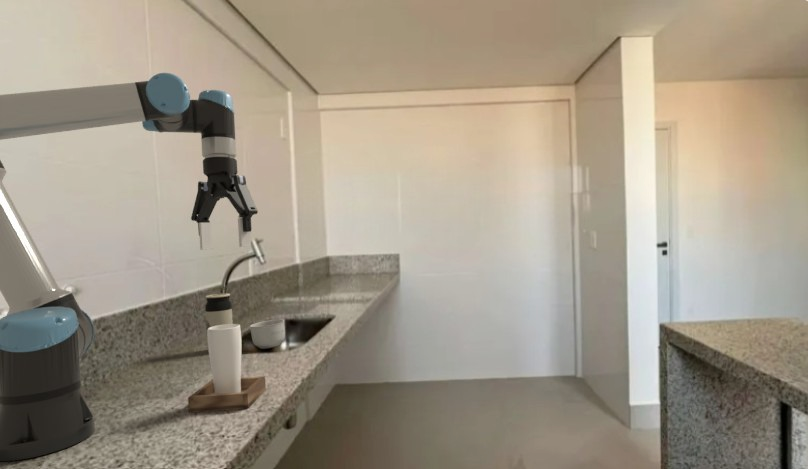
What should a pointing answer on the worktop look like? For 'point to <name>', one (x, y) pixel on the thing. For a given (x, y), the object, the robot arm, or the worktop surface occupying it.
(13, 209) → the robot arm
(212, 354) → the white tumbler cup
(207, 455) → the worktop surface
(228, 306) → the travel mug
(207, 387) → the walnut tray
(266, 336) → the teacup
